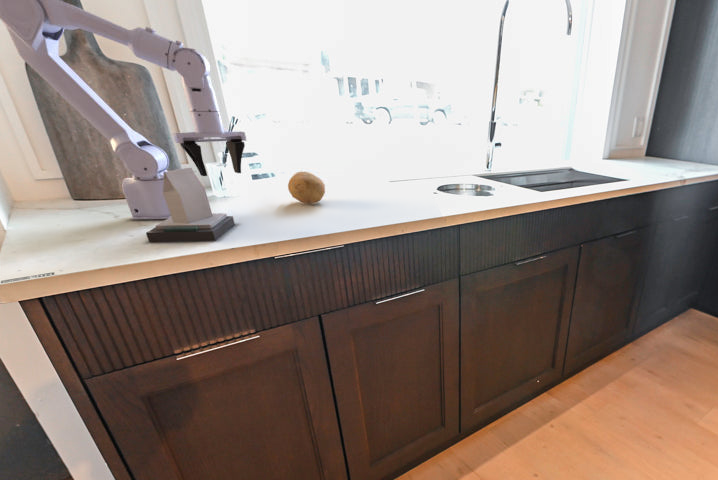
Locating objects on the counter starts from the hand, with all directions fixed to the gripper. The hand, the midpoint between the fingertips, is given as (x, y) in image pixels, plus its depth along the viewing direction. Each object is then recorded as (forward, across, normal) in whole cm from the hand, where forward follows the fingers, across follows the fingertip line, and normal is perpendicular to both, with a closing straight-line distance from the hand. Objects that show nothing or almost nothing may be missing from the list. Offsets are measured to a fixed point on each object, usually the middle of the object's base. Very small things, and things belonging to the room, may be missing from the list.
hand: (221, 174), depth 103 cm
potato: (+10, -20, +2) cm, 22 cm away
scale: (+9, +13, +13) cm, 20 cm away
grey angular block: (+7, +12, +12) cm, 18 cm away
